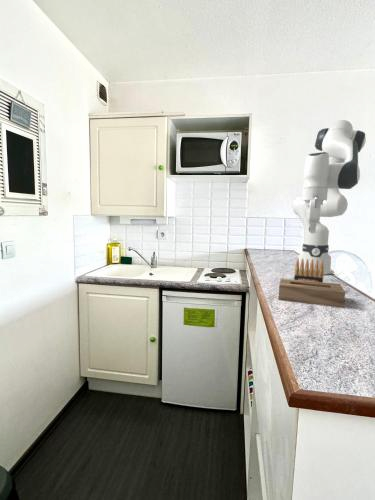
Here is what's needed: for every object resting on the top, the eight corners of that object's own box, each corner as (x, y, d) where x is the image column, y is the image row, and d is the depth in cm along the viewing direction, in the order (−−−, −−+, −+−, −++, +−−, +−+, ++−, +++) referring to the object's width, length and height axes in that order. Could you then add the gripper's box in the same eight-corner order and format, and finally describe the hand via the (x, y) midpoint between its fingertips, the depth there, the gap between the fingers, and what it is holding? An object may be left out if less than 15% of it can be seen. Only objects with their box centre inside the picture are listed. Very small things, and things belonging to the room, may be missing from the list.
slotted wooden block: (280, 291, 106) (280, 278, 105) (338, 297, 99) (340, 283, 98) (278, 299, 96) (279, 285, 95) (343, 307, 89) (345, 292, 88)
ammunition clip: (322, 289, 109) (324, 259, 107) (322, 291, 107) (324, 260, 105) (293, 286, 113) (295, 257, 112) (293, 287, 112) (295, 258, 110)
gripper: (326, 194, 95) (323, 234, 96) (321, 197, 113) (318, 231, 115) (306, 194, 97) (303, 233, 99) (304, 197, 116) (302, 230, 118)
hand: (311, 232), depth 107 cm, fingers open, 8 cm apart
